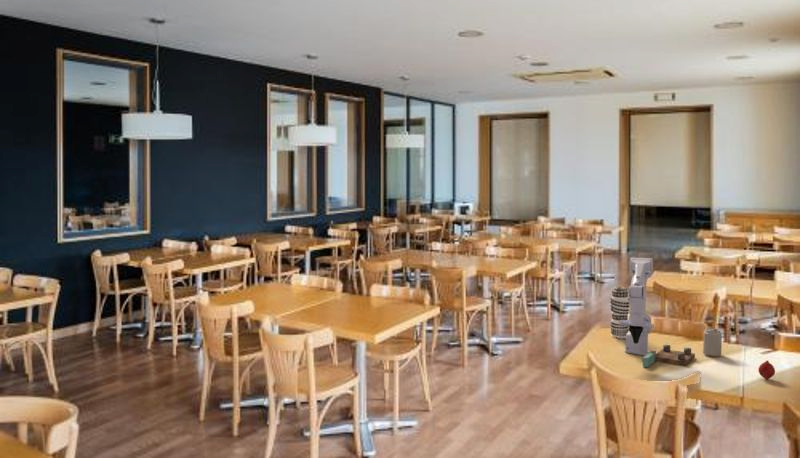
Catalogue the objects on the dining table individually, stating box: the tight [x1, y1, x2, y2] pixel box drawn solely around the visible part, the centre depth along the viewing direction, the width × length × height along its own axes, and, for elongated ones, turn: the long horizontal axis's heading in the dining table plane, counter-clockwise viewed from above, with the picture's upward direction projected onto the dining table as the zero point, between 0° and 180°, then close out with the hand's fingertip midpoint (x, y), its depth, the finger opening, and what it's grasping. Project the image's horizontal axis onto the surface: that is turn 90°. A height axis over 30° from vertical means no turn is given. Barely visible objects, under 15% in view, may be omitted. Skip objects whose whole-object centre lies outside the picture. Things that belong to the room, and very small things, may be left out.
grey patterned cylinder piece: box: [609, 285, 630, 339], centre depth 336 cm, size 9×9×25 cm
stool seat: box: [656, 344, 696, 367], centre depth 296 cm, size 14×14×4 cm
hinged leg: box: [642, 350, 657, 368], centre depth 290 cm, size 11×2×4 cm, turn 141°
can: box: [702, 327, 723, 358], centre depth 301 cm, size 8×8×12 cm
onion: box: [757, 360, 776, 381], centre depth 267 cm, size 6×6×8 cm
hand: (636, 343), depth 291 cm, fingers closed
